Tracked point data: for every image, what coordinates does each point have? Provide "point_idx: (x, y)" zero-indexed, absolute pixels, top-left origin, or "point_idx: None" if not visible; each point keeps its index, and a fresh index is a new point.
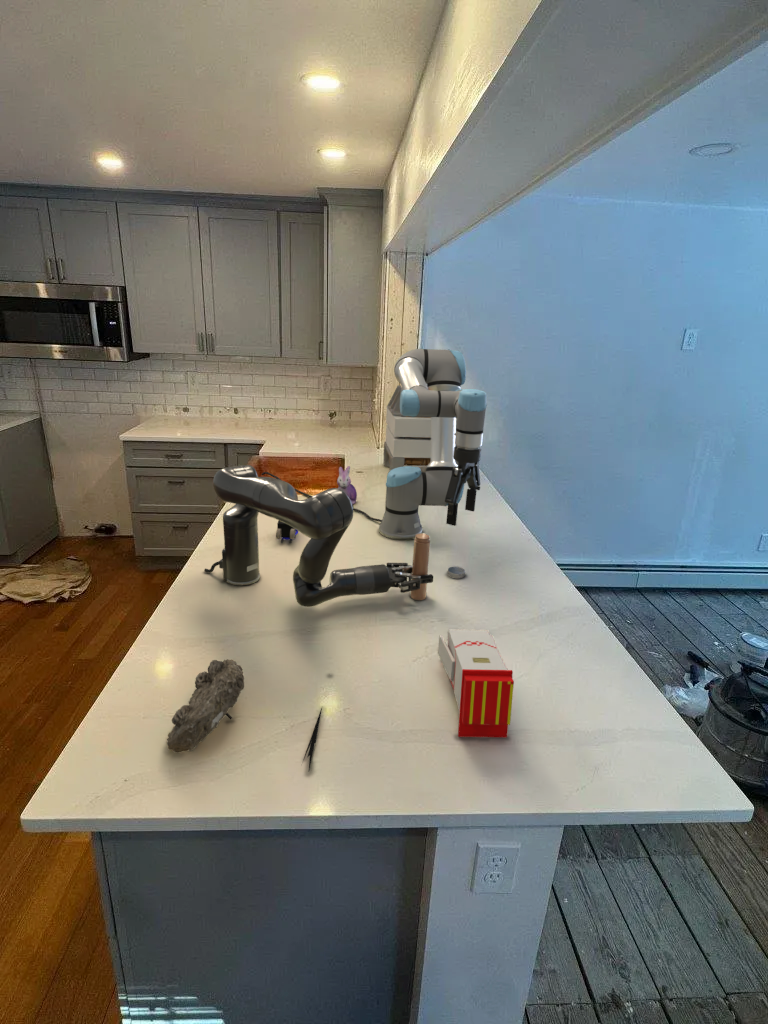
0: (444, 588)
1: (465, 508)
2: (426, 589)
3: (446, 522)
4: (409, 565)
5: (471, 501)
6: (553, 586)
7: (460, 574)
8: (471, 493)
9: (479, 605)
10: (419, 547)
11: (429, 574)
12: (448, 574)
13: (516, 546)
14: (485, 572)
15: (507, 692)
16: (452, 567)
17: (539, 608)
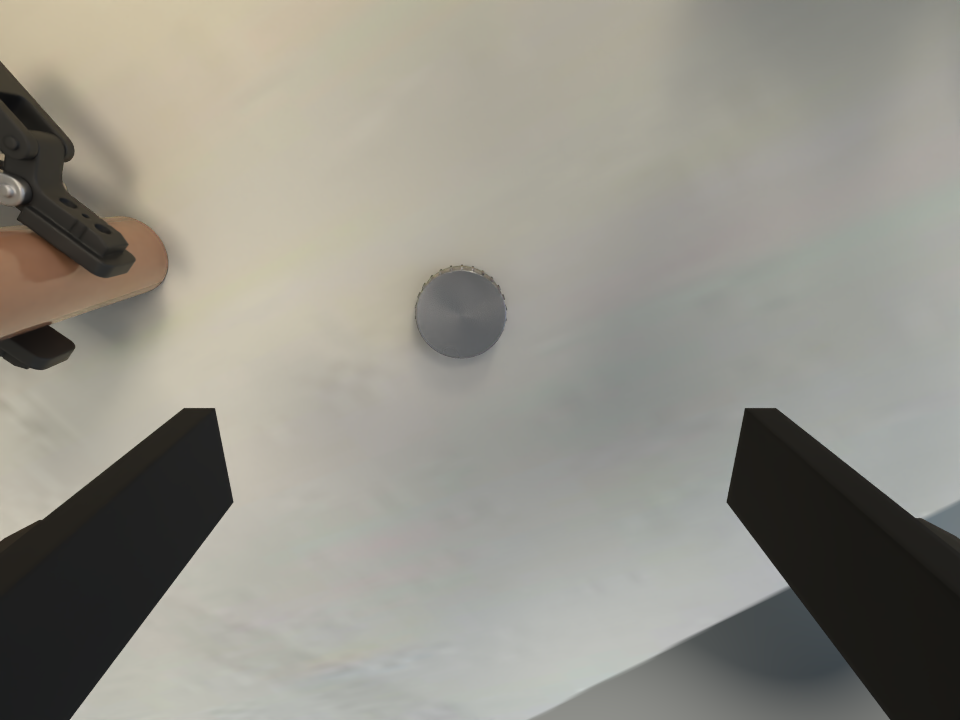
0: (293, 322)
1: (753, 418)
2: (121, 300)
3: (176, 417)
4: (2, 185)
5: (803, 555)
6: (593, 647)
7: (433, 348)
8: (910, 654)
9: (261, 497)
10: None
11: (24, 350)
12: (424, 284)
13: (957, 425)
14: (571, 410)
15: None
16: (479, 284)
17: (391, 654)
